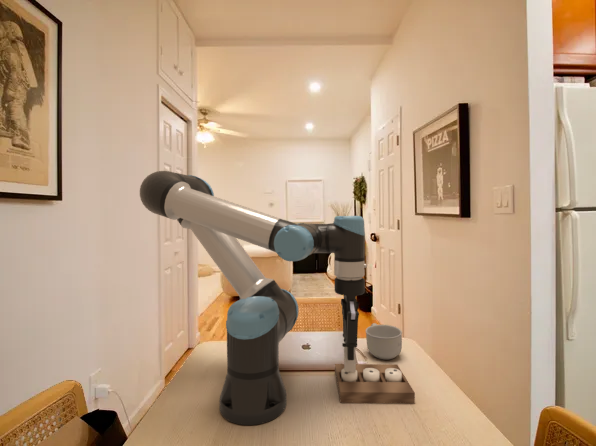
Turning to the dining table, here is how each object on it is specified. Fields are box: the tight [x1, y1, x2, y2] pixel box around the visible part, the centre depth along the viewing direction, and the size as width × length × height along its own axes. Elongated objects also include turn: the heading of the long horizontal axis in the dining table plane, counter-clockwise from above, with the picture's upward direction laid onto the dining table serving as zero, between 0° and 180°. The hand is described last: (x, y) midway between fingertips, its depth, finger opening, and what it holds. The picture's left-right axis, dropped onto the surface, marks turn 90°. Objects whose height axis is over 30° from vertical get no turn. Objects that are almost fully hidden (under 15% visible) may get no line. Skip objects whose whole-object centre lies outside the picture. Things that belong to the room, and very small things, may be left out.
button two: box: [385, 368, 403, 382], centre depth 81 cm, size 4×4×3 cm
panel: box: [334, 363, 416, 405], centre depth 81 cm, size 17×14×2 cm
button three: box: [341, 369, 357, 382], centre depth 81 cm, size 4×4×3 cm
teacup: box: [365, 322, 403, 360], centre depth 101 cm, size 14×11×8 cm
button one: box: [363, 368, 379, 382], centre depth 81 cm, size 4×4×3 cm
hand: (349, 370), depth 81 cm, fingers closed
